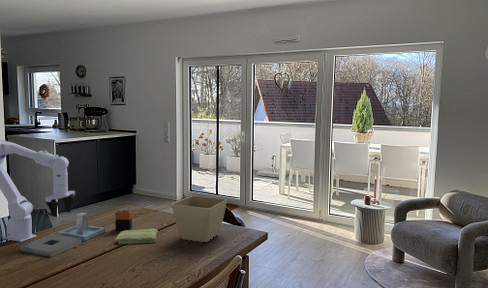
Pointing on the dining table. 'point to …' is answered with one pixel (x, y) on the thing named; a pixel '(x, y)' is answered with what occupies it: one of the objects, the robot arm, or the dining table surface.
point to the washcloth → (137, 236)
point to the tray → (91, 233)
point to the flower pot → (199, 217)
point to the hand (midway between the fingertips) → (61, 214)
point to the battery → (123, 220)
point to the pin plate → (45, 247)
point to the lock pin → (82, 223)
